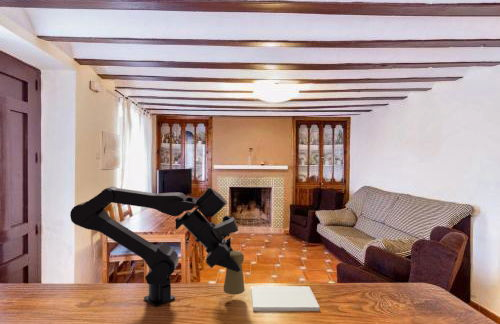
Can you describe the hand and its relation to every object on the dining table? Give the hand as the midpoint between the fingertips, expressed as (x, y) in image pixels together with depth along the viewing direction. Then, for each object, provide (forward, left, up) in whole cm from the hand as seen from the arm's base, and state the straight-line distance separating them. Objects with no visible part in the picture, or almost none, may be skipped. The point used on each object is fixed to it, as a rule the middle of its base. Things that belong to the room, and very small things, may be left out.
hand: (239, 267), depth 95 cm
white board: (+9, +9, -9) cm, 16 cm away
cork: (-1, -1, -7) cm, 7 cm away
